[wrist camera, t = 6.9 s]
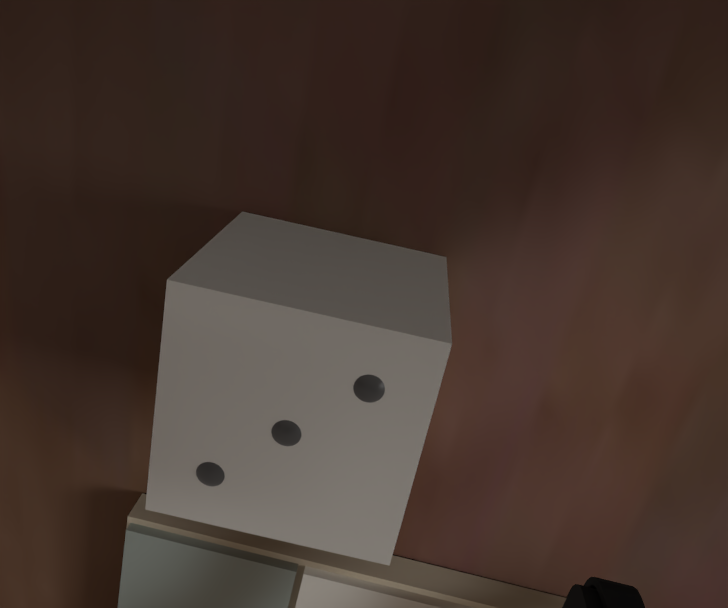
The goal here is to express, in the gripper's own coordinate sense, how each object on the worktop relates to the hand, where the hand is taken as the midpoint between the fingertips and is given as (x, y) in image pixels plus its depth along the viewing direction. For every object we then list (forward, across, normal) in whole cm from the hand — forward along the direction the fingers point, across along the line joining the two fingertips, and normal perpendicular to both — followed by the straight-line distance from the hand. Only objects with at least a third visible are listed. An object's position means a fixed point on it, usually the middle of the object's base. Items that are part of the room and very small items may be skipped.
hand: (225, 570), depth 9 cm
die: (+8, 0, 0) cm, 8 cm away
